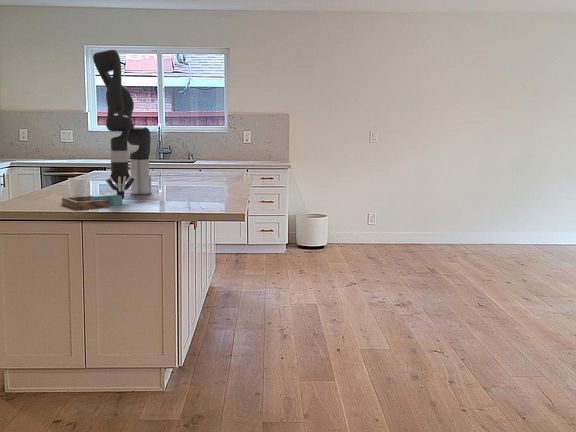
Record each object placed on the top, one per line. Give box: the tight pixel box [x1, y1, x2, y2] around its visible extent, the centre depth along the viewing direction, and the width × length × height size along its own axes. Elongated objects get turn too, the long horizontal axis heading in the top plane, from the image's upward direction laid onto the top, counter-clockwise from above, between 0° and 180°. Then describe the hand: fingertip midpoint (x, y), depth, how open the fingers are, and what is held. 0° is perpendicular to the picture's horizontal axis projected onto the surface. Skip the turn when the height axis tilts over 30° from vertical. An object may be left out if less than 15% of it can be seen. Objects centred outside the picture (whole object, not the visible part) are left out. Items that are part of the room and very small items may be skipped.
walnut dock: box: [61, 195, 111, 210], centre depth 266 cm, size 14×17×3 cm
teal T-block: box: [89, 192, 123, 207], centre depth 271 cm, size 11×12×4 cm
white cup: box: [67, 177, 87, 197], centre depth 282 cm, size 8×8×10 cm
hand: (120, 199), depth 275 cm, fingers closed
